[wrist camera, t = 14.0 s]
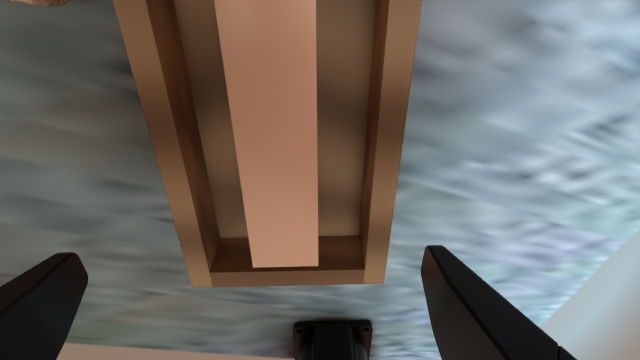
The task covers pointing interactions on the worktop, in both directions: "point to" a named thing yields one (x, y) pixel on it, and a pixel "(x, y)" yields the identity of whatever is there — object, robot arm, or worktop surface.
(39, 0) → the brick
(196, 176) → the wooden open tray
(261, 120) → the clay strip
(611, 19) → the worktop surface
